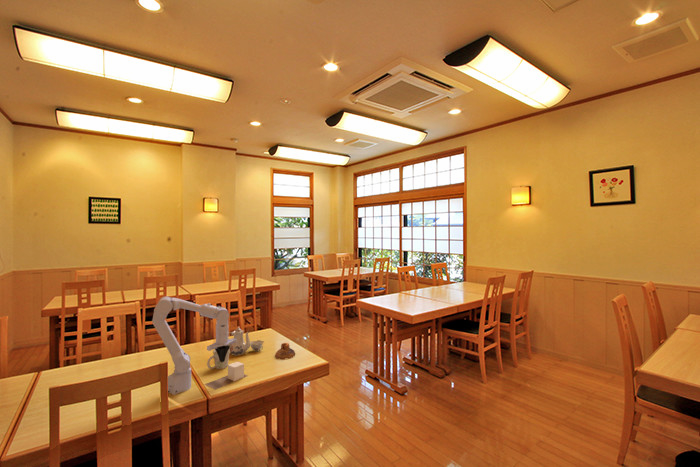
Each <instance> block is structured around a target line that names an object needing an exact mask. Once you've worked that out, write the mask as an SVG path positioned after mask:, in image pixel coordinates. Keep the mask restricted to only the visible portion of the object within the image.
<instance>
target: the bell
mask: <svg viewBox="0 0 700 467" xmlns="http://www.w3.org/2000/svg"><path fill="white" fill-rule="evenodd" d="M295 355H296V352H295V350H294V349H293V348H291V347H290V343H289V342H283V343H281V344H280V348H279V349H278V350H277V351H276V352H275V353H274V357H275V358H276V359H279V358H280V360H286V359H285V358H288V359H291V357H292V358H294V357H295ZM293 356H294V357H293Z"/></svg>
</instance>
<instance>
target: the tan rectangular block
mask: <svg viewBox="0 0 700 467" xmlns="http://www.w3.org/2000/svg"><path fill="white" fill-rule="evenodd" d="M244 374H245V364H244V363H242V362H240V361H236V362H233V363H228V367H227V375H228V379H230V380H233V381H235V382H237V381H239V379H240V380H242V379H244V378H245V377H244ZM243 377H244V378H243ZM241 378H242V379H241ZM236 380H237V381H236Z"/></svg>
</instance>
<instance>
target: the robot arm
mask: <svg viewBox="0 0 700 467" xmlns="http://www.w3.org/2000/svg"><path fill="white" fill-rule="evenodd" d="M179 309H183V310H188V311H193V312H197V313H198V314H199V316H201V317H205V318H209V319H213V320H215V319H216V324H215V342H214V343H211V344H209V345H206V351H209V352H211V351H212V350H216V352H217V354H218V357H219V360H220V362H224V361H225V357H226V354H227V352H228V350H229V349H230V346H228V345H229V344H232V343H236V339H234V337H233V338H229V334H228V333H229V319H230V313H229V310H228V309H227V308H225V307H224V306H220V305H218V306H215V305H212V304H211V303H210V302H209V303H203V304H197V303H195V302H192V301H187V300H185V299H181V298H178V297H171V296H167V295H166V296H163V297H161V298H159V299H158V302H157V303H156V305H155V307H154V309H153V316H152V319H151V322H152V324H153V326H154V329H155V331H156V332H157V334H158V335H159V337H160V339H161V340H162V342H163V344H164V346H165V348H167V352H168V353H169V354H170V356H171V359H172V362H173V364H174V370H173V373H171V374H169V375H168V376H167V378H168V391H169V392H168V393H169V394H171V395H173V396H174V395H177V394H180V393H184V392H186V391H189V390H191V388H192V367H191V357H190V355H189V354H188V353H186V352H185V351H184V349H183V348H182V347H181V345H180V343H179V341H178V340H177V337H176V336H175V333H173V331H172V329H171V327H170V325H169V324H168V321H166V319H167V317H168V314H170V312H172V310H173V311H178V310H179Z"/></svg>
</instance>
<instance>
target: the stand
mask: <svg viewBox="0 0 700 467" xmlns="http://www.w3.org/2000/svg"><path fill="white" fill-rule="evenodd" d="M247 377H248V375H247V374H245V373H244V377H243V378H241V379H239V380H243V379H244V378H247ZM239 380H236V381H233V380H230V379H228V374H227V375H225V376H222V377H219V378H217V379H214V380H212V381H209V382H207V383H205V384H204V385H205V386H206V387H209V388H211V389H213V390H218V389H220V388H222V387H225V386H228V385H230V384H231V383H234V382H237V381H239Z"/></svg>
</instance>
